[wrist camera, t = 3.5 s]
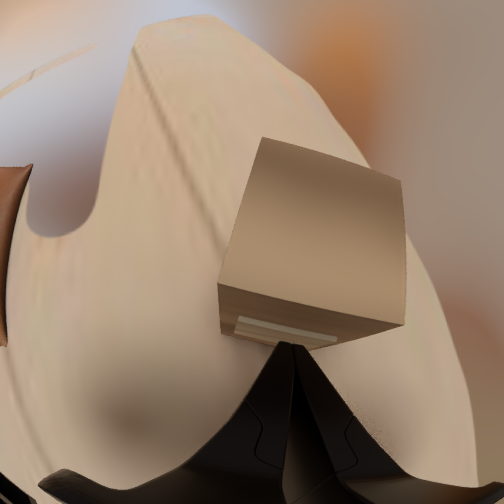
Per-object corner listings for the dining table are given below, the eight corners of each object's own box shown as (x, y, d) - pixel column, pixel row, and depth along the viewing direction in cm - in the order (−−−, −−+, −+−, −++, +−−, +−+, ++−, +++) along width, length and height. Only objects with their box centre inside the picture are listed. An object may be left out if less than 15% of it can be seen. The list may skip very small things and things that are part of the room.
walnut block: (303, 355, 15) (404, 332, 6) (220, 336, 15) (214, 291, 6) (317, 275, 18) (400, 180, 8) (241, 255, 18) (261, 136, 8)
